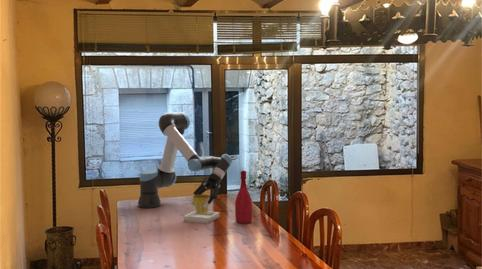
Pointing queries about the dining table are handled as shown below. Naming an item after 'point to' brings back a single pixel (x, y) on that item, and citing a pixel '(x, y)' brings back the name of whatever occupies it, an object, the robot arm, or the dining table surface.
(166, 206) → the dining table surface
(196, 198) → the plant pot
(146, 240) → the dining table surface
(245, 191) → the wine bottle
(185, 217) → the white tray
